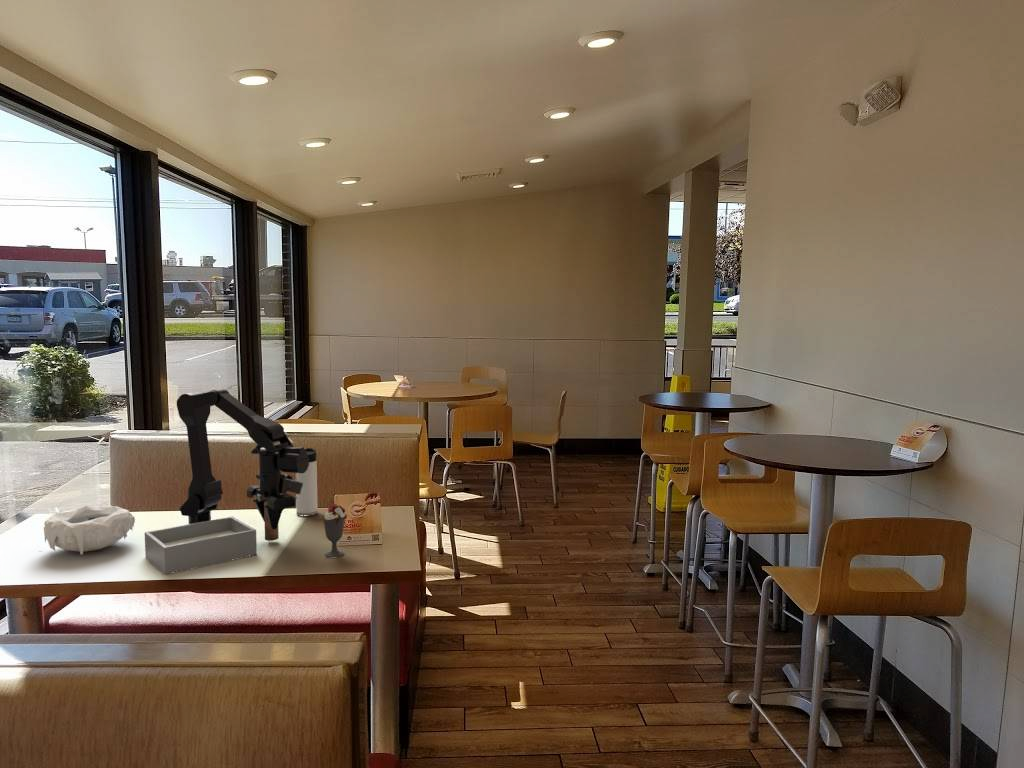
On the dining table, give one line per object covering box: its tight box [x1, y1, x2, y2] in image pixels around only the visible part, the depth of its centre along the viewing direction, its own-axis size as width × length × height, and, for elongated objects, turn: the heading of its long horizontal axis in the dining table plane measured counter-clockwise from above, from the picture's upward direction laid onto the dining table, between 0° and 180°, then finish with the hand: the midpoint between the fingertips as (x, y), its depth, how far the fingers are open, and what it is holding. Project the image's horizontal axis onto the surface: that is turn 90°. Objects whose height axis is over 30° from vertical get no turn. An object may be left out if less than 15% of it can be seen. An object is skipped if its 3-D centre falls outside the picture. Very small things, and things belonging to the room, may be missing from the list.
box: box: [144, 516, 258, 575], centre depth 182 cm, size 16×22×6 cm
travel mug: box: [295, 447, 319, 516], centre depth 221 cm, size 6×7×20 cm
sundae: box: [320, 499, 348, 558], centre depth 184 cm, size 7×7×15 cm
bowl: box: [43, 504, 136, 556], centre depth 187 cm, size 21×20×10 cm
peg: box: [263, 501, 280, 542], centre depth 193 cm, size 4×4×10 cm
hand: (271, 527), depth 193 cm, fingers closed on peg, 3 cm apart
